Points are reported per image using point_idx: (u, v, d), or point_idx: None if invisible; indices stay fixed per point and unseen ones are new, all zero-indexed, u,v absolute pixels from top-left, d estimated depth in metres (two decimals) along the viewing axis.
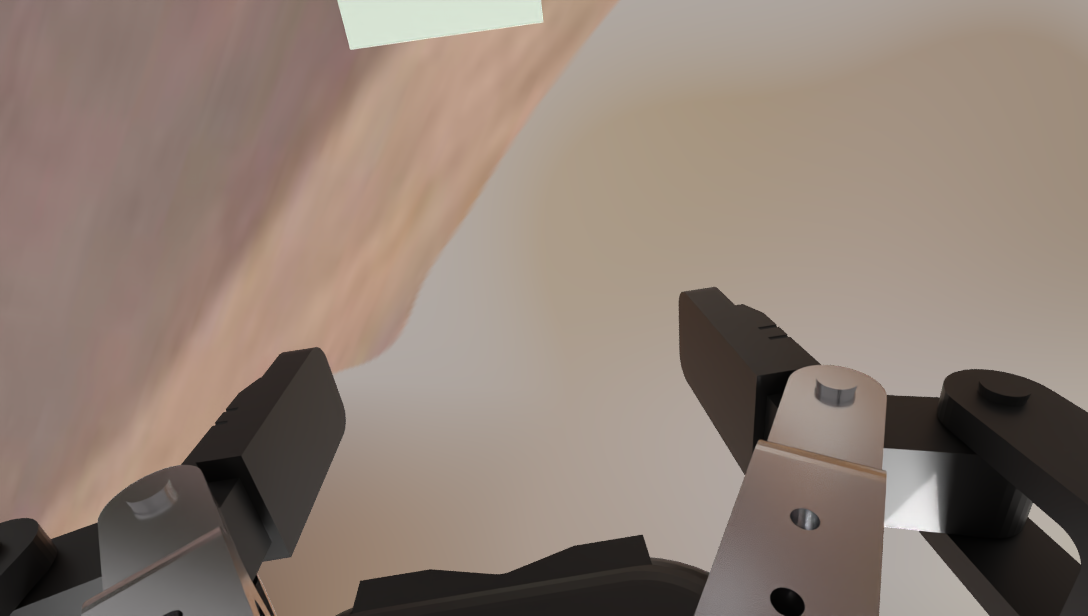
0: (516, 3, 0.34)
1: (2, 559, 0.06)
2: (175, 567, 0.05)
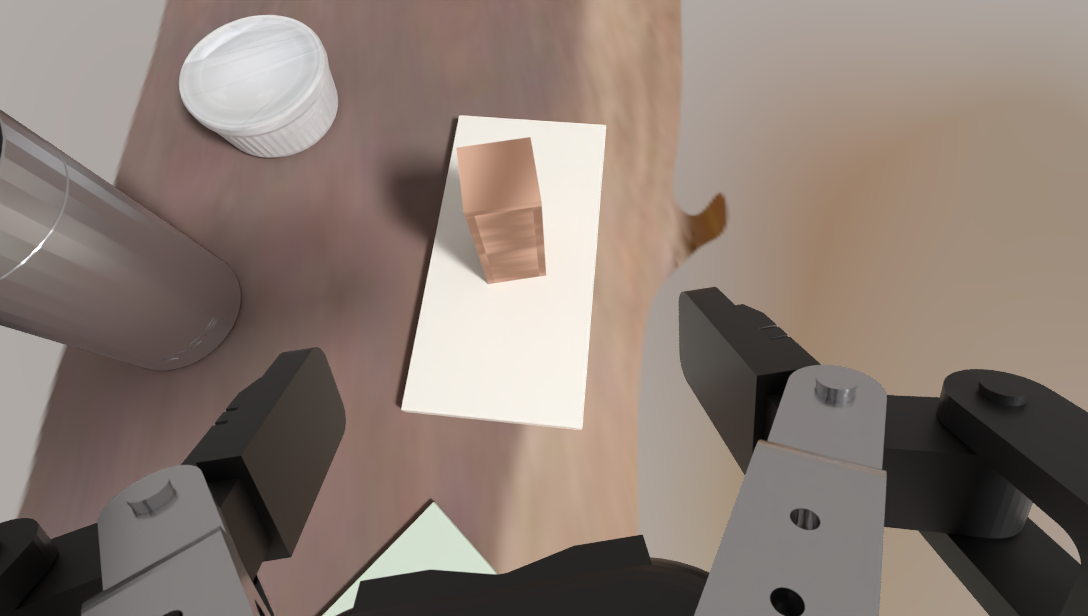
0: None
1: (2, 559, 0.06)
2: (175, 567, 0.05)
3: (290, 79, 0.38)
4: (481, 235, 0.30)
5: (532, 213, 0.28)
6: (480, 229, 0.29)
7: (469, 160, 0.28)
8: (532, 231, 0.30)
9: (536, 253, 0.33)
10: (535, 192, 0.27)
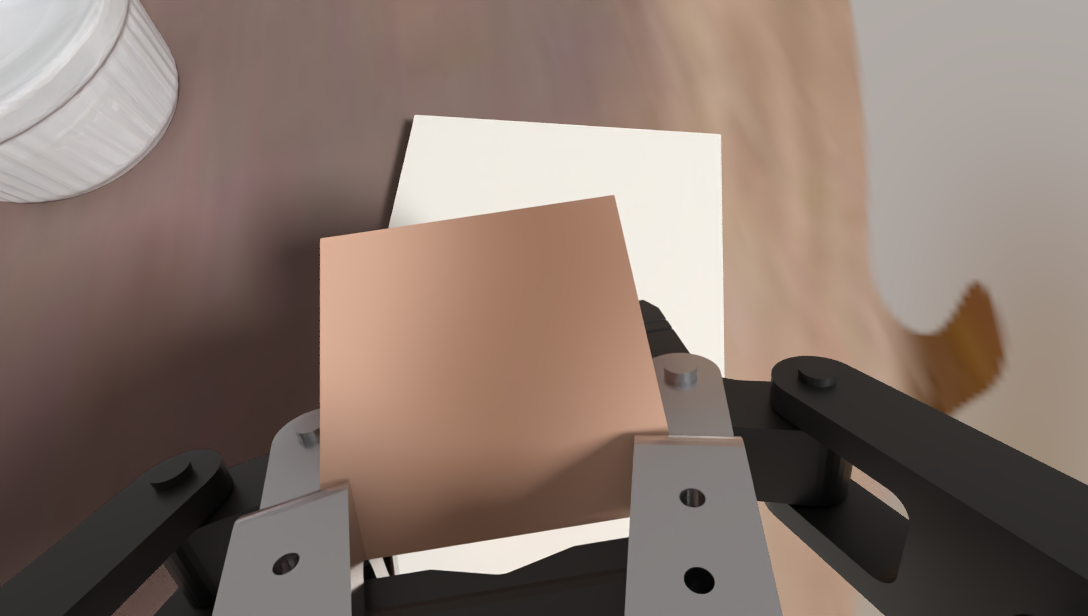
0: None
1: (198, 479, 0.07)
2: (305, 510, 0.06)
3: (22, 35, 0.17)
4: None
5: None
6: None
7: (368, 295, 0.07)
8: None
9: None
10: None
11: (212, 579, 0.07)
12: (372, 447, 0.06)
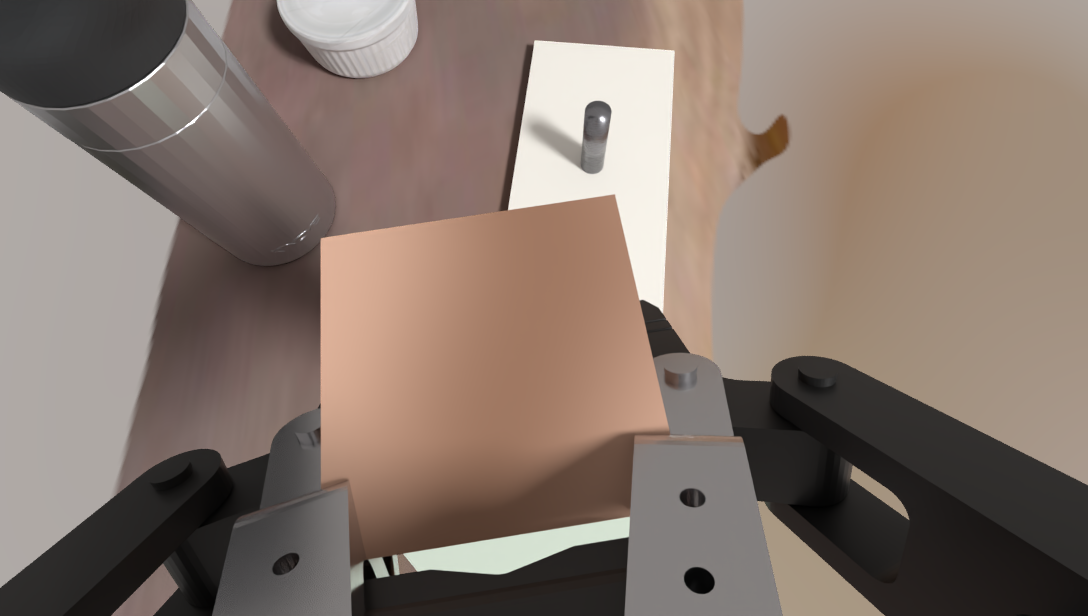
0: None
1: (198, 480, 0.07)
2: (306, 509, 0.06)
3: None
4: None
5: None
6: None
7: (368, 294, 0.07)
8: None
9: None
10: None
11: (212, 579, 0.07)
12: (373, 446, 0.06)
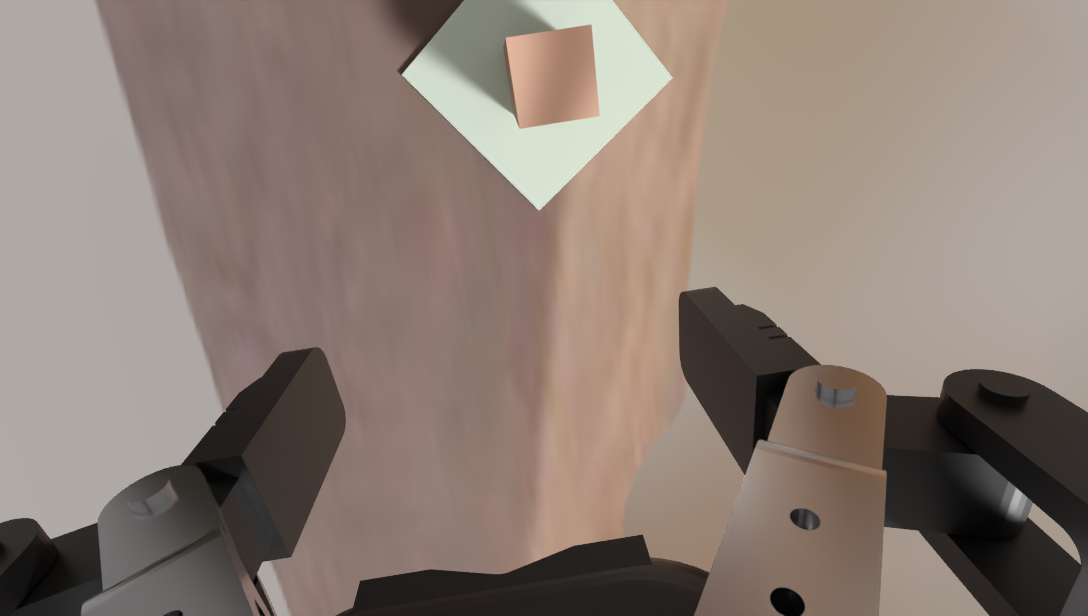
0: (643, 81, 0.35)
1: (2, 559, 0.06)
2: (174, 567, 0.05)
3: None
4: None
5: None
6: None
7: (521, 57, 0.25)
8: None
9: None
10: (593, 104, 0.26)
11: None
12: (528, 101, 0.26)
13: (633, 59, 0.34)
